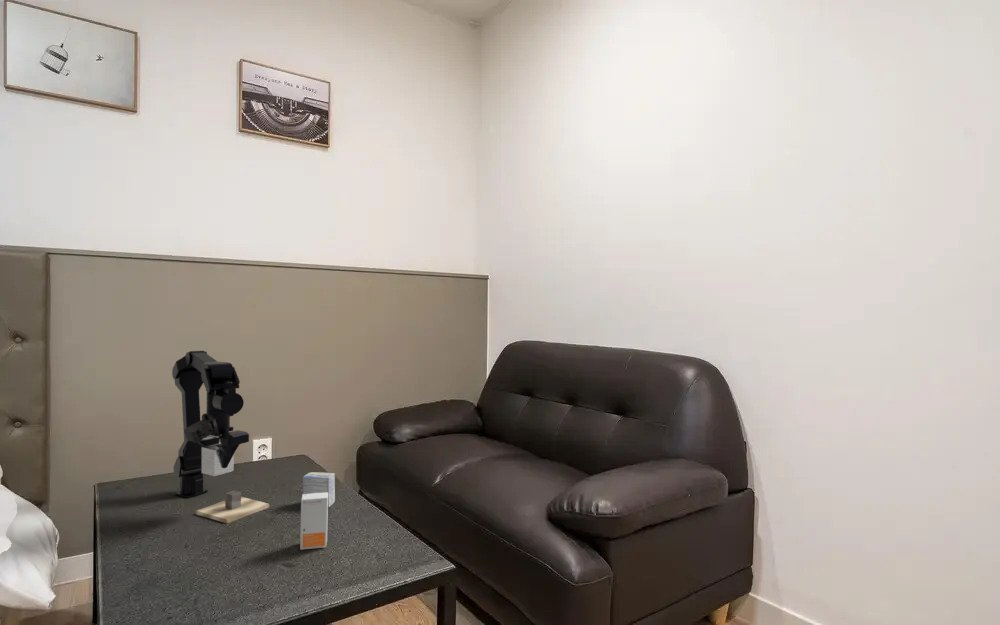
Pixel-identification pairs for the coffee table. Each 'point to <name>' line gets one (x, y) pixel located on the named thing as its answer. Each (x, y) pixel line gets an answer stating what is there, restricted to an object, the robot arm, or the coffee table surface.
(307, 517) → the skincare box
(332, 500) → the medicine box
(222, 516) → the post board
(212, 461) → the grey block
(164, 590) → the coffee table surface
